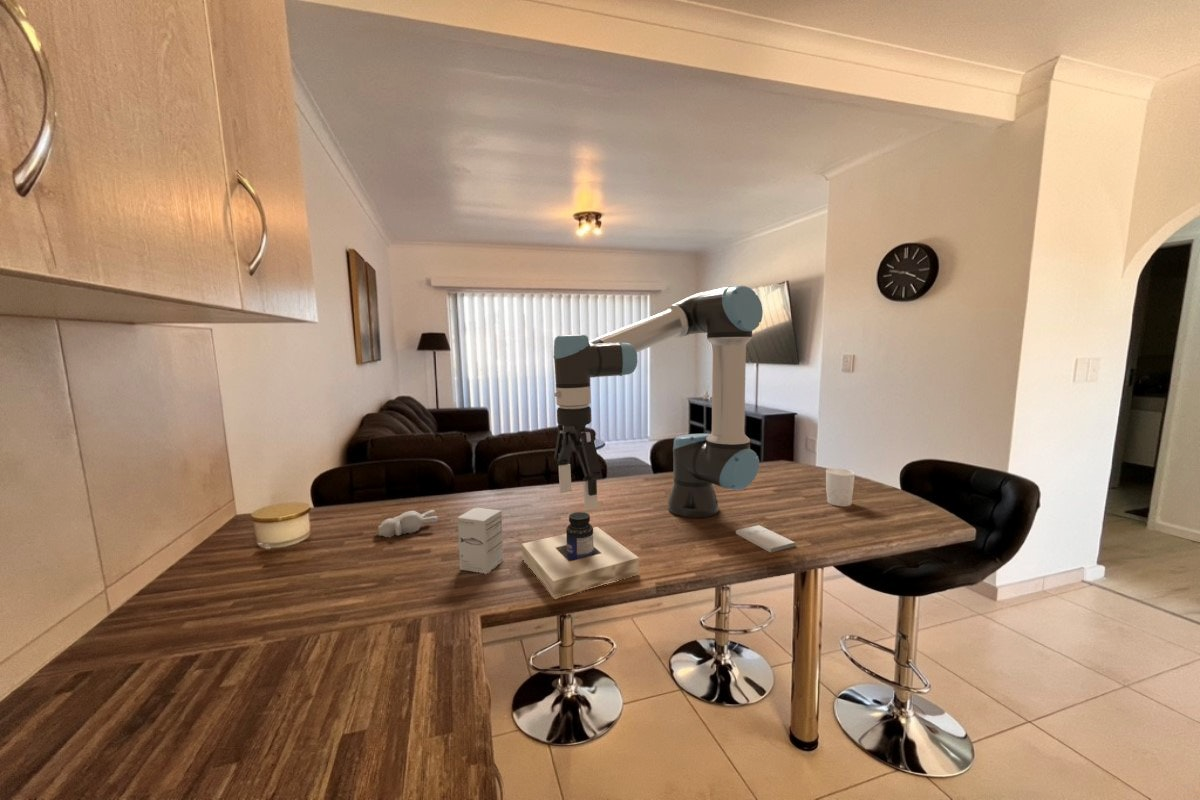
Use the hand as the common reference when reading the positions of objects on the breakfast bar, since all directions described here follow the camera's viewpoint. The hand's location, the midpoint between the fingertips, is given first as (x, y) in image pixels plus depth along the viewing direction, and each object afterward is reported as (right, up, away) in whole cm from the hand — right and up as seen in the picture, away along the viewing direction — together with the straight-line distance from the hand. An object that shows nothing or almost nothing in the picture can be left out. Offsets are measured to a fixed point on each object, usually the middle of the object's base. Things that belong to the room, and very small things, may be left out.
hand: (577, 499), depth 102 cm
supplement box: (-22, -16, +4) cm, 28 cm away
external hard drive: (+47, -14, +14) cm, 51 cm away
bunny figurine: (-48, -15, +25) cm, 56 cm away
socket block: (0, -16, +2) cm, 16 cm away
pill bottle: (+1, -15, +1) cm, 15 cm away
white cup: (+79, -10, +39) cm, 89 cm away
